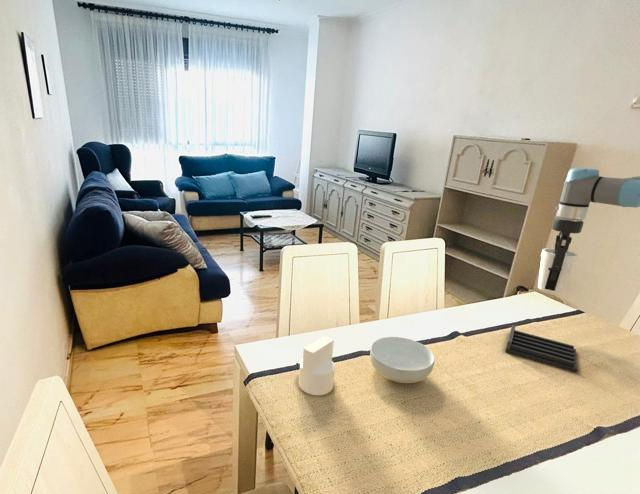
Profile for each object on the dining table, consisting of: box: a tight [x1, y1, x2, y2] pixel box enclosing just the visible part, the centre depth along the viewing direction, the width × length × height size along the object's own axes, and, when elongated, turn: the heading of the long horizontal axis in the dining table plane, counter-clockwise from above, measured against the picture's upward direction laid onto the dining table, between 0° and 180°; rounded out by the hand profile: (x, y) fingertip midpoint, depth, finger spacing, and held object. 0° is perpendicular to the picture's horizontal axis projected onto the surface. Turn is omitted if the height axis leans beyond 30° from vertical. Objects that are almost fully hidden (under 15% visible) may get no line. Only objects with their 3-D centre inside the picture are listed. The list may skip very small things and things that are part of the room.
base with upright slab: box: [298, 335, 336, 396], centre depth 98 cm, size 9×9×12 cm
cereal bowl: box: [369, 336, 436, 384], centre depth 105 cm, size 17×17×7 cm
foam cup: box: [537, 247, 578, 294], centre depth 127 cm, size 10×9×13 cm
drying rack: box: [504, 324, 578, 374], centre depth 119 cm, size 18×14×4 cm
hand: (550, 285), depth 128 cm, fingers closed on foam cup, 9 cm apart
